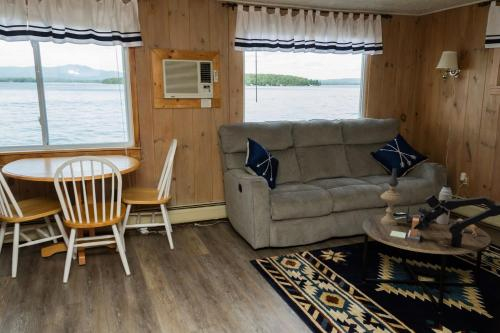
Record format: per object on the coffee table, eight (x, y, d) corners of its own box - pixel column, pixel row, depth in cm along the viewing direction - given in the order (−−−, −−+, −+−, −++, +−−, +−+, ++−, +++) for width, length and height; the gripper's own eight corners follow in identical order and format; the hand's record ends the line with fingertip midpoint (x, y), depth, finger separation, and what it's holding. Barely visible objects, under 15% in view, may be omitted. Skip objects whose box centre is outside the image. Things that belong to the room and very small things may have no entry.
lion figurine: (454, 231, 259) (456, 219, 257) (456, 229, 263) (458, 217, 261) (479, 237, 250) (481, 224, 248) (480, 235, 254) (482, 222, 252)
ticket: (416, 236, 247) (419, 218, 245) (416, 239, 243) (418, 221, 240) (411, 235, 249) (413, 217, 246) (410, 238, 244) (412, 220, 242)
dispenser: (420, 235, 250) (420, 231, 249) (419, 242, 238) (419, 238, 238) (408, 233, 253) (409, 229, 252) (406, 240, 242) (407, 236, 241)
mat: (406, 233, 252) (406, 233, 252) (404, 238, 244) (404, 237, 243) (391, 231, 256) (391, 230, 256) (390, 236, 247) (390, 235, 247)
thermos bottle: (442, 220, 281) (447, 183, 276) (450, 224, 274) (455, 186, 268) (433, 221, 279) (438, 184, 273) (441, 225, 271) (446, 187, 266)
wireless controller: (423, 217, 288) (426, 196, 284) (435, 224, 274) (438, 201, 271) (399, 218, 285) (401, 196, 281) (409, 224, 271) (412, 201, 268)
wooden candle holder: (403, 226, 265) (409, 171, 258) (382, 226, 265) (388, 170, 257) (395, 219, 280) (401, 166, 272) (375, 219, 280) (380, 166, 272)
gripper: (427, 199, 247) (407, 212, 254) (426, 206, 231) (404, 220, 238) (439, 212, 245) (418, 225, 252) (438, 221, 229) (416, 235, 236)
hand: (414, 226), depth 244 cm, fingers open, 9 cm apart
